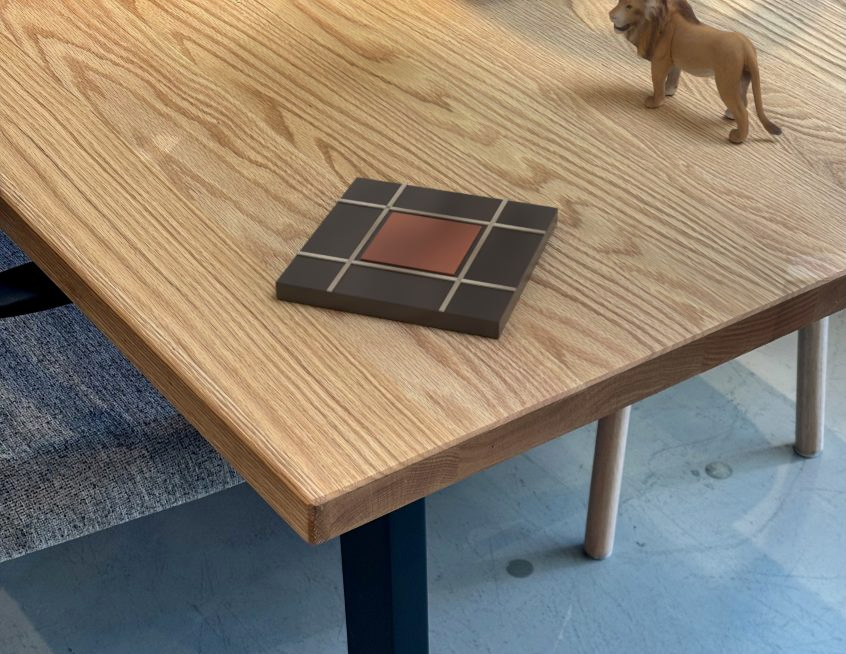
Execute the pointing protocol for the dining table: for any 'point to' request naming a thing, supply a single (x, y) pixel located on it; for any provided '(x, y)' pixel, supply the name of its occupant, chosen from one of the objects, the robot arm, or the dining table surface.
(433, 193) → the board
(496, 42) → the dining table surface
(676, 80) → the lion figurine
